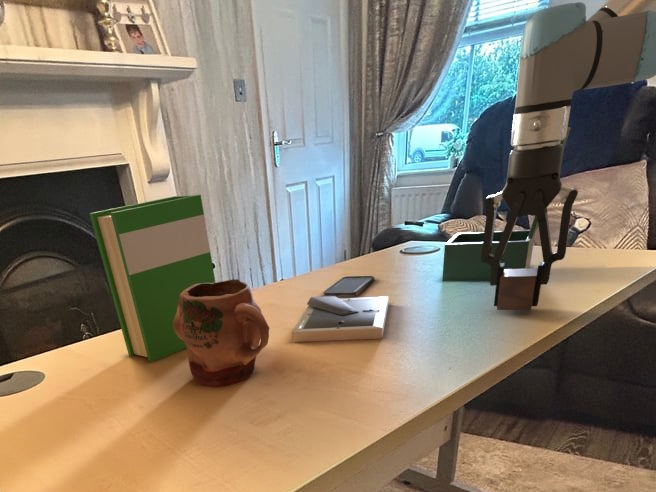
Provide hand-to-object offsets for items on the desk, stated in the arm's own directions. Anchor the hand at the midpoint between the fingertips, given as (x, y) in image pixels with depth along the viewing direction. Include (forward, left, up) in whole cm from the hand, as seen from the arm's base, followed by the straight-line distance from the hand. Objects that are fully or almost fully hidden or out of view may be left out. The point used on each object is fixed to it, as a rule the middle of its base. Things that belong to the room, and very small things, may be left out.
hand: (515, 303), depth 93 cm
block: (0, 0, 0) cm, 0 cm away
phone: (+37, -17, -2) cm, 41 cm away
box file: (+9, -29, -2) cm, 30 cm away
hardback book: (+57, +24, -2) cm, 62 cm away
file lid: (0, -29, +15) cm, 33 cm away
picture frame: (+29, +8, -2) cm, 30 cm away
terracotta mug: (+37, +37, -2) cm, 53 cm away
